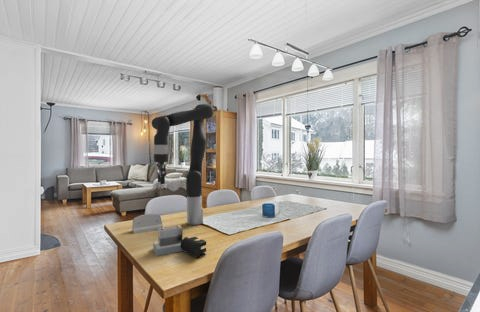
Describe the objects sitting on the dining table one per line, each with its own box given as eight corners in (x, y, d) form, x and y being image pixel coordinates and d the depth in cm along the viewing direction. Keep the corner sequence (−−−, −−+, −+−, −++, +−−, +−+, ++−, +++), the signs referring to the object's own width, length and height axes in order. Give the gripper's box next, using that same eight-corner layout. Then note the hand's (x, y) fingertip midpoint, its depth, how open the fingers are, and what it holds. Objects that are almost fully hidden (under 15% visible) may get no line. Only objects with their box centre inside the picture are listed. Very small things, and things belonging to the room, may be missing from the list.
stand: (183, 243, 123) (183, 237, 123) (188, 250, 115) (187, 243, 115) (153, 248, 117) (153, 242, 117) (156, 256, 109) (156, 249, 109)
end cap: (180, 253, 111) (180, 238, 111) (193, 249, 117) (193, 234, 116) (193, 260, 104) (193, 244, 104) (207, 255, 110) (206, 239, 109)
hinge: (133, 233, 138) (132, 215, 141) (132, 234, 142) (130, 216, 145) (163, 228, 147) (162, 211, 149) (162, 229, 150) (160, 212, 153)
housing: (158, 242, 116) (158, 226, 116) (179, 239, 120) (179, 223, 120) (160, 246, 112) (160, 229, 111) (182, 242, 116) (182, 226, 116)
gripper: (151, 153, 141) (152, 182, 141) (155, 153, 128) (156, 185, 129) (165, 153, 144) (165, 181, 145) (170, 153, 132) (170, 184, 132)
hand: (161, 183), depth 137 cm, fingers open, 8 cm apart
